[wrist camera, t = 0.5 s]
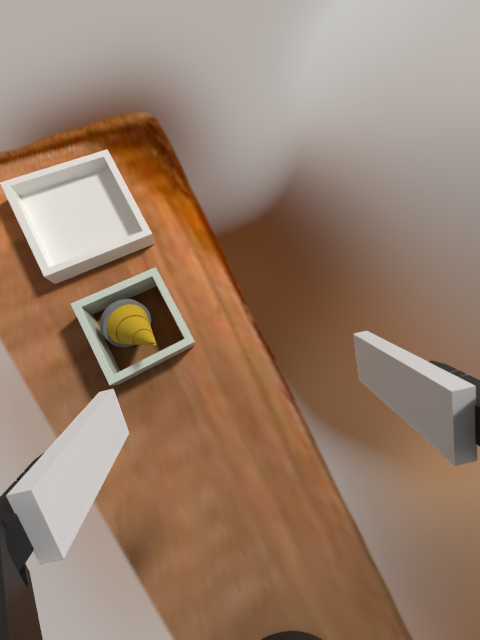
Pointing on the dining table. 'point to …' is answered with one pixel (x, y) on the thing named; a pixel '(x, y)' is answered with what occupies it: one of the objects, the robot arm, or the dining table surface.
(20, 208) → the tray
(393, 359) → the robot arm
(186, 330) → the pale green square frame
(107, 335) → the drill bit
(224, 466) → the dining table surface
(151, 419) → the dining table surface
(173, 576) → the dining table surface
